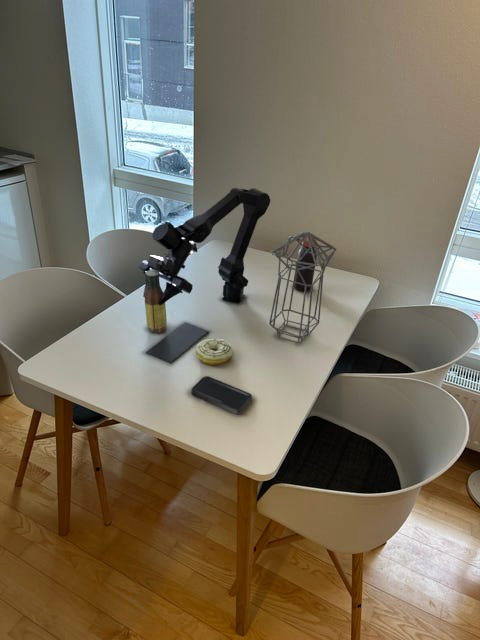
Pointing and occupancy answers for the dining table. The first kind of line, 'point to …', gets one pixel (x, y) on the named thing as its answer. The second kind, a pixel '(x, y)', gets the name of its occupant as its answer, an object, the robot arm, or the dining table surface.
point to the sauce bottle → (154, 303)
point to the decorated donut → (214, 351)
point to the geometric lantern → (315, 244)
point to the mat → (177, 342)
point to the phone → (221, 394)
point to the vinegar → (305, 273)
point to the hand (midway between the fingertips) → (151, 301)
